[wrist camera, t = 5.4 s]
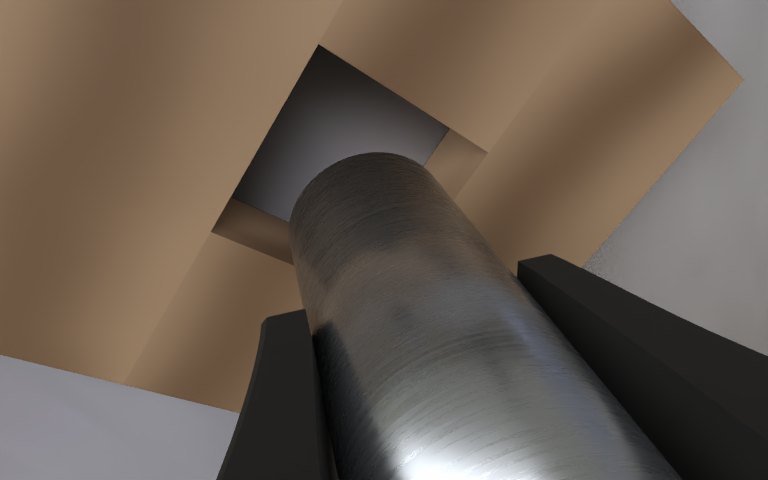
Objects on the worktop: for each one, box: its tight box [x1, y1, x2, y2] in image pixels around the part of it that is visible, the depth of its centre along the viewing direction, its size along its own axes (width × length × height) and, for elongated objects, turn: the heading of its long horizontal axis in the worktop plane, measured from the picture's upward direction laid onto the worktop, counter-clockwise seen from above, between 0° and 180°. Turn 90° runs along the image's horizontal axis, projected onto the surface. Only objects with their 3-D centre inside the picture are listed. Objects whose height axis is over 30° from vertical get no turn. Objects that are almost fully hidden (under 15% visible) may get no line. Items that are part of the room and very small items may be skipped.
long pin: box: [289, 152, 682, 480], centre depth 8 cm, size 4×4×9 cm
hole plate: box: [0, 0, 744, 413], centre depth 15 cm, size 16×16×2 cm
